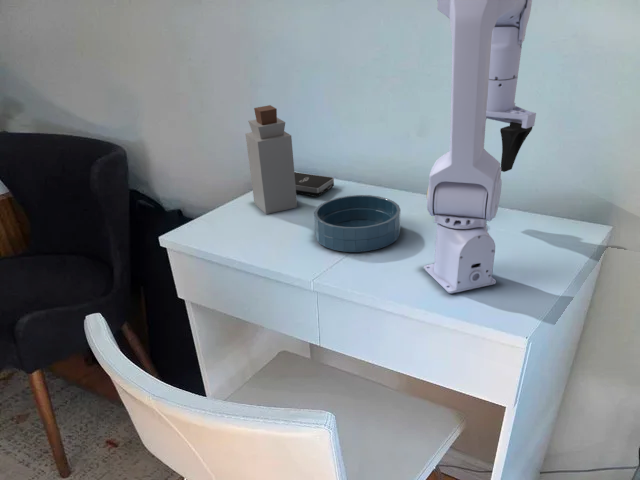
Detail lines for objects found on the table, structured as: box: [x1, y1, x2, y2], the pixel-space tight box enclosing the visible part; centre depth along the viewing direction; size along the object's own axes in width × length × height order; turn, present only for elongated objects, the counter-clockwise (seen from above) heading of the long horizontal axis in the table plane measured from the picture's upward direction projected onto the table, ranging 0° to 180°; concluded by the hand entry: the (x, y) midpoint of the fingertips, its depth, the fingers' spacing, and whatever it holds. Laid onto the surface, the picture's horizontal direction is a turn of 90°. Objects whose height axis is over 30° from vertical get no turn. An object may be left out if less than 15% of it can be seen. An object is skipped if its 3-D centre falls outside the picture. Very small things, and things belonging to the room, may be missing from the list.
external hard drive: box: [294, 171, 335, 197], centre depth 129 cm, size 7×11×2 cm, turn 59°
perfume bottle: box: [245, 104, 298, 215], centre depth 118 cm, size 7×7×18 cm
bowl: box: [313, 194, 402, 253], centre depth 109 cm, size 15×15×4 cm
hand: (488, 165), depth 105 cm, fingers open, 7 cm apart
